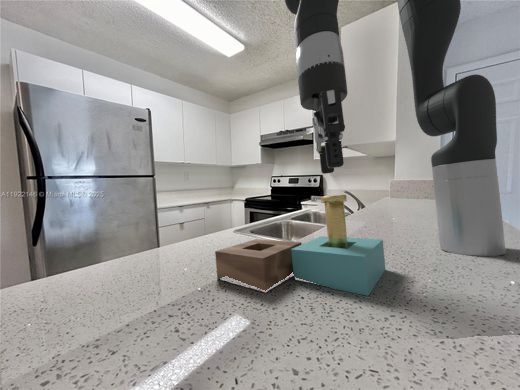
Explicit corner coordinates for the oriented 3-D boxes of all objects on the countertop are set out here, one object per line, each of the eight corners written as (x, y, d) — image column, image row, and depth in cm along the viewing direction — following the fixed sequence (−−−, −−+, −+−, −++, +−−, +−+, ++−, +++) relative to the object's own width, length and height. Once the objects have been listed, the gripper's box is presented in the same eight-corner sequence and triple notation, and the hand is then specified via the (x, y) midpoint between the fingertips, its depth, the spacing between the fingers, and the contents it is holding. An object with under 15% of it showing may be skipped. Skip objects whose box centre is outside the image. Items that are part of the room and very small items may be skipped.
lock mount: (258, 262, 46) (256, 238, 46) (303, 269, 39) (301, 242, 39) (217, 279, 38) (215, 251, 38) (265, 293, 30) (262, 258, 31)
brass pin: (333, 269, 38) (326, 196, 38) (357, 273, 35) (349, 194, 35) (323, 277, 35) (316, 197, 35) (349, 281, 32) (341, 195, 32)
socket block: (323, 261, 43) (320, 236, 43) (385, 269, 36) (382, 239, 36) (294, 280, 34) (291, 249, 35) (368, 295, 27) (364, 256, 27)
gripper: (355, 38, 28) (369, 161, 28) (336, 90, 42) (345, 172, 42) (297, 51, 29) (310, 168, 29) (298, 97, 43) (306, 176, 43)
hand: (331, 170), depth 35 cm, fingers open, 8 cm apart
